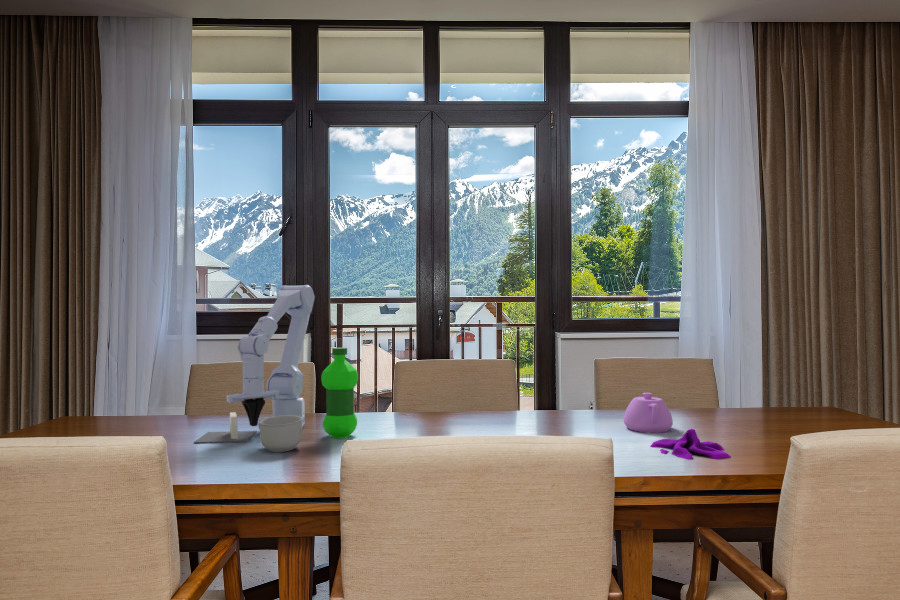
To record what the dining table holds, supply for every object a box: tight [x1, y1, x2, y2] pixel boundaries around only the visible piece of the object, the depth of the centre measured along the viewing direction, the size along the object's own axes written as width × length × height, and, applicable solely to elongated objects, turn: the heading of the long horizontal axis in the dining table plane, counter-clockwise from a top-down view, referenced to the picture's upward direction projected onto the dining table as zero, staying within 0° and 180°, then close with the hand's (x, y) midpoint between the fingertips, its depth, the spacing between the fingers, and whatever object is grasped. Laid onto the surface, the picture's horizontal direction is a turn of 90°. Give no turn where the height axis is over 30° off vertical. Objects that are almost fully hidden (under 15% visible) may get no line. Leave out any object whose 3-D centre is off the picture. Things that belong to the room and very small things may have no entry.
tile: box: [229, 411, 238, 439], centre depth 178 cm, size 8×2×6 cm, turn 22°
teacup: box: [257, 415, 303, 453], centre depth 164 cm, size 14×11×8 cm
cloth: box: [649, 428, 732, 461], centre depth 157 cm, size 22×19×6 cm
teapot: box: [623, 392, 674, 434], centre depth 186 cm, size 14×20×11 cm
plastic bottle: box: [320, 347, 359, 439], centre depth 178 cm, size 10×10×25 cm
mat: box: [193, 430, 258, 444], centre depth 177 cm, size 14×13×1 cm
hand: (253, 425), depth 178 cm, fingers closed
